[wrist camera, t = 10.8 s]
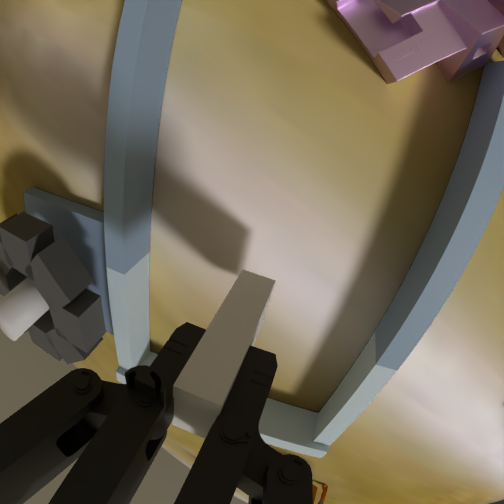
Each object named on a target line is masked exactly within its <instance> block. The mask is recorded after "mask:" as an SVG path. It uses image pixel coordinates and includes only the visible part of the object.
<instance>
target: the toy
mask: <svg viewBox="0 0 504 504" xmlns="http://www.w3.org/2000/svg"><path fill="white" fill-rule="evenodd" d="M312 486H313V504H314V500H315V496H316V491H317V487H316V486H314V485H313V484H312ZM327 487H328V486H326V487H325V486H324V485H323V484H322V489H323V492H322V495H321V499H320V501H319V502H318V504H323V502H324V499H325V496H326V492H327Z"/></svg>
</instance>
